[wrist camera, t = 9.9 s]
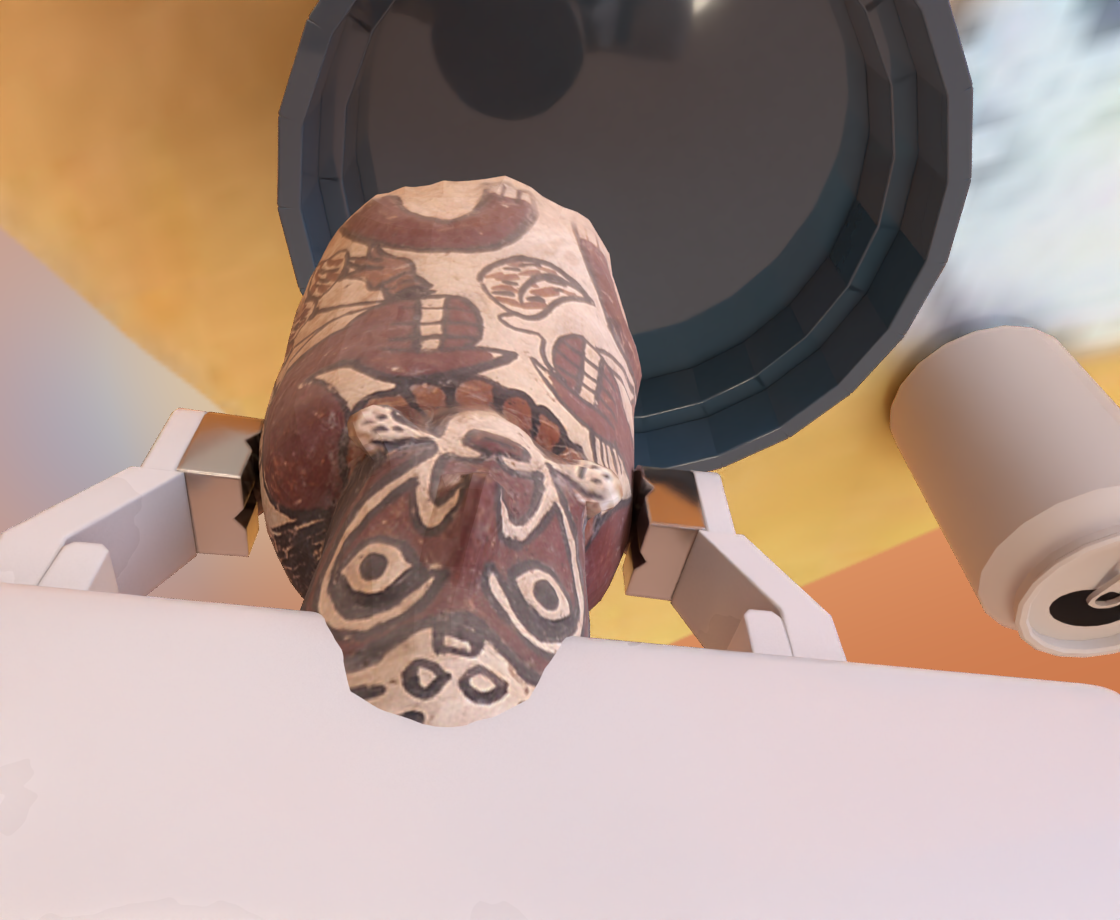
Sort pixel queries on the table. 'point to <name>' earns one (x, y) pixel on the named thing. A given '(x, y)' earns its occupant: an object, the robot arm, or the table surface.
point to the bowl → (669, 174)
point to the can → (1021, 482)
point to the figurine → (454, 444)
